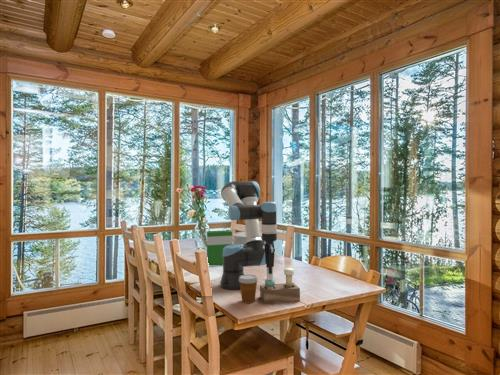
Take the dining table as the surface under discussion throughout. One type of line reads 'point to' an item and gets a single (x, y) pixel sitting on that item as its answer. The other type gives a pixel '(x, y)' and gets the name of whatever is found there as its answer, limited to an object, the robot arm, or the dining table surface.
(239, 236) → the chamber pot
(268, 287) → the knob
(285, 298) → the mount
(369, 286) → the dining table surface
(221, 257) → the hardback book
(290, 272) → the knob
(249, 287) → the disposable coffee cup
